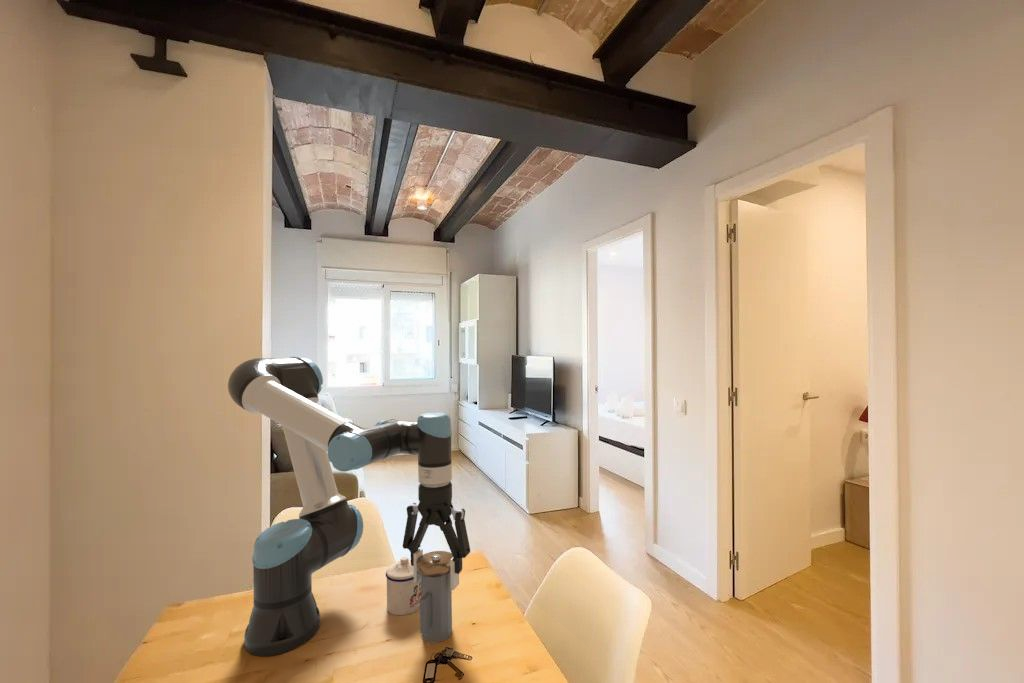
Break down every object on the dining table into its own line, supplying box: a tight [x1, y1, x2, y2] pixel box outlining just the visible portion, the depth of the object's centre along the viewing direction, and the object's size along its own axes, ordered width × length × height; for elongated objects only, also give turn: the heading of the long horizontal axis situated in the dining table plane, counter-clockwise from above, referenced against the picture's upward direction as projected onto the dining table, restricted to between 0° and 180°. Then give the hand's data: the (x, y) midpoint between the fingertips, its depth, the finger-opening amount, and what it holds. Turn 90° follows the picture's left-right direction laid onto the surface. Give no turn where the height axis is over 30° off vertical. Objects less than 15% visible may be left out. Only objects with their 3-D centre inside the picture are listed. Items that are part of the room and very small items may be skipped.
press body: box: [419, 573, 453, 643], centre depth 96 cm, size 7×9×14 cm
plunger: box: [417, 550, 453, 577], centre depth 97 cm, size 9×9×14 cm
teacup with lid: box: [385, 556, 421, 616], centre depth 109 cm, size 12×9×12 cm
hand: (436, 583), depth 97 cm, fingers closed on plunger, 9 cm apart
